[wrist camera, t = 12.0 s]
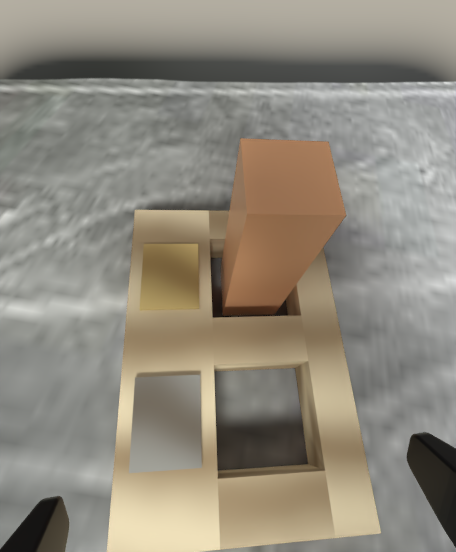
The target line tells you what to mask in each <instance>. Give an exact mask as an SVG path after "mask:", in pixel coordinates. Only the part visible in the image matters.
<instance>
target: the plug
mask: <svg viewBox="0 0 456 552" xmlns="http://www.w3.org/2000/svg"><path fill="white" fill-rule="evenodd" d="M345 216H346V212H345V208H344V204H343V200H342V196H341V192H340V188H339V183H338V179H337V175H336V171H335V167H334V163H333V159H332V155H331V150H330V146H329V142H322V141H295V140H269V139H242V138H240V145H239V151H238V158H237V164H236V171H235V178H234V184H233V191H232V197H231V204H230V210H229V217H228V223H227V230H226V236H225V243H224V249H223V256H222V262H221V290H222V313H223V316H228V315H274V314H275V313H276V312H277V310H278V309H279V307H280V306H281V305H282V303H283V302H284V301H285V299H286V298H287V296H288V295H289V294H290V292H291V291H292V290H293V288H294V287H295V285H296V284H297V283H298V281H299V280H300V279H301V277H302V276H303V274H304V273H305V272H306V270H307V269H308V267H309V266H310V265H311V263H312V262H313V261H314V259H315V258H316V256H317V255H318V254H319V252H320V251H321V250H322V248H323V247H324V245H325V244H326V243H327V241H328V240H329V239H330V237H331V236H332V234H333V233H334V232H335V230H336V229H337V227H338V226H339V225H340V223H341V222H342V221H343V219H344V218H345Z"/></svg>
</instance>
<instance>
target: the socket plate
mask: <svg viewBox="0 0 456 552" xmlns="http://www.w3.org/2000/svg"><path fill="white" fill-rule="evenodd" d="M228 217H229V211H205V210H135V217H134V229H133V241H132V253H131V266H130V278H129V290H128V302H127V314H126V326H125V338H124V351H123V363H122V375H121V387H120V399H119V411H118V424H117V436H116V448H115V460H114V472H113V484H112V496H111V509H110V521H109V533H108V545H107V552H200V551H210V550H220V549H230V548H240V547H250V546H260V545H270V544H280V543H290V542H300V541H310V540H320V539H330V538H340V537H350V536H360V535H370V534H380V533H381V530H380V525H379V520H378V515H377V510H376V505H375V500H374V495H373V490H372V485H371V480H370V476H369V471H368V466H367V461H366V456H365V451H364V446H363V441H362V436H361V431H360V426H359V421H358V416H357V411H356V406H355V401H354V396H353V391H352V386H351V382H350V377H349V372H348V367H347V362H346V357H345V352H344V347H343V342H342V337H341V332H340V327H339V322H338V317H337V312H336V307H335V302H334V297H333V293H332V288H331V283H330V278H329V273H328V268H327V263H326V258H325V253H324V248H322V250H321V251H320V252H319V254H318V255H317V256H316V258H315V259H314V261H313V262H312V263H311V265H310V266H309V267H308V269H307V270H306V272H305V273H304V274H303V276H302V277H301V279H300V280H299V281H298V283H297V284H296V285H295V287H294V288H293V290H292V291H291V292H290V294H289V295H288V296H287V298H286V305H287V312H288V316H258V317H218V318H212V292H211V263H210V258H222V256H223V249H224V243H225V236H226V230H227V223H228ZM283 368H295V371H296V378H297V385H298V393H299V400H300V408H301V415H302V422H303V430H304V437H305V444H306V452H307V459H308V464H302V465H289V466H275V467H262V468H248V469H235V470H221V471H217V441H216V411H215V382H214V371H236V370H259V369H283Z"/></svg>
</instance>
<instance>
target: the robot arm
mask: <svg viewBox="0 0 456 552" xmlns="http://www.w3.org/2000/svg"><path fill="white" fill-rule="evenodd" d="M407 461H408V464H409V467H410V469H411V470H412V472H413V474H414V476H415V478H416V480H417V481H418V483H419V485H420V487H421V489H422V491H423V492H424V494H425V496H426V498H427V500H428V502H429V503H430V505H431V507H432V509H433V511H434V512H435V514H436V516H437V518H438V520H439V521H440V523H441V525H442V527H443V528H444V530H445V532H446V533H447V535H448V536H449V538H450V539H451V541H452V543H453V544H454V546H455V547H456V448H454V447H452V446H450V445H449V444H447V443H445V442H444V441H442V440H440V439H438V438H437V437H435V436H433V435H431V434H429V433H426V432H423V433H417V434H413V435H412V436H411V438H410V443H409V447H408V452H407ZM68 531H69V518H68V515H67V511H66V508H65V505H64V502H63V499H62V498H61V497H60V496H56V497H50V498H45V499H43V500H41V501H40V502H39V503H38V504H37V505H36V506H35V508H34V509H33V510H32V511H31V512H30V514H29V515H28V516H27V517H26V519H25V520H24V521H23V522H22V523H21V525H20V526H19V527H18V528H17V530H16V531H15V532H14V533H13V534H12V536H11V537H10V538H9V539H8V541H7V542H6V543H5V544H4V545H3V547H2V548H1V549H0V552H65V548H66V543H67V537H68Z"/></svg>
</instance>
